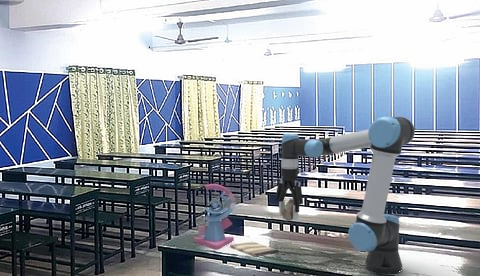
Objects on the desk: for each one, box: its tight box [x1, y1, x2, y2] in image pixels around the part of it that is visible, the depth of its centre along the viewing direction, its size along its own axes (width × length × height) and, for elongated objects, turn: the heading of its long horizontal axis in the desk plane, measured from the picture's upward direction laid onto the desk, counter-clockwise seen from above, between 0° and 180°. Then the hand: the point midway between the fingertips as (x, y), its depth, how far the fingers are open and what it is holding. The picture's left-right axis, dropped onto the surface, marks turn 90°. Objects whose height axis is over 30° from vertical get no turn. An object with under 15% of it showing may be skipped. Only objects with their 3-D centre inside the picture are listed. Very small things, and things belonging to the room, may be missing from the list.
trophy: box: [193, 183, 237, 251], centre depth 248 cm, size 20×17×30 cm
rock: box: [281, 198, 294, 222], centre depth 231 cm, size 12×7×10 cm, turn 151°
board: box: [229, 240, 279, 258], centre depth 242 cm, size 20×14×1 cm
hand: (288, 217), depth 232 cm, fingers closed on rock, 9 cm apart
